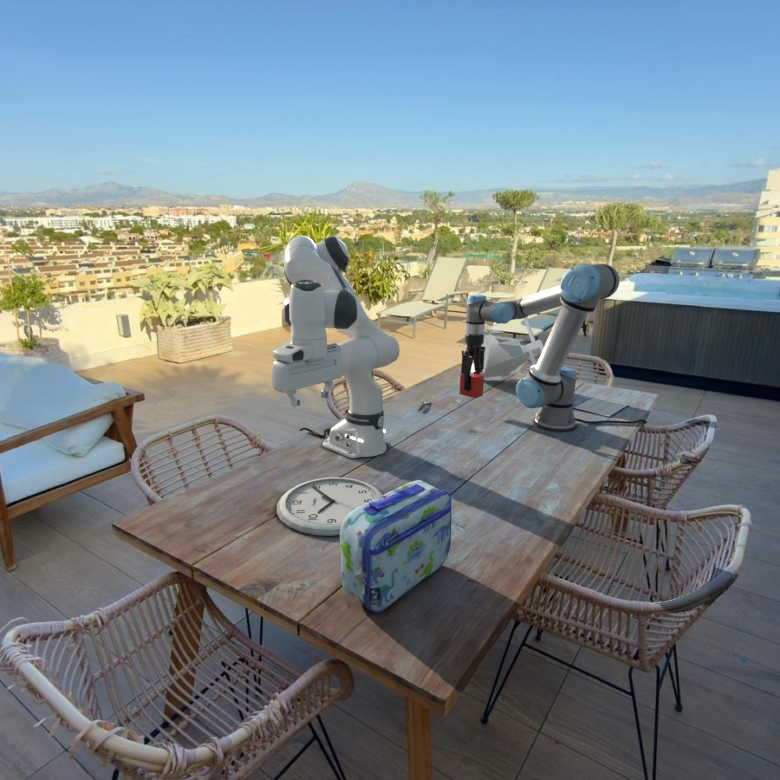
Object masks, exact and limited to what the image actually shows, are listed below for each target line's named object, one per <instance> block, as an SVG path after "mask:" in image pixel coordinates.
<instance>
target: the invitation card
mask: <svg viewBox="0 0 780 780" xmlns="http://www.w3.org/2000/svg"><path fill="white" fill-rule="evenodd" d="M628 406H629V404H627V403H623V402H618V401H614V400H609V399H605V398H601V397H596V396H593V397H592V398H590V399H588V400H586V401H584V402H582V403H580V404H578V405H575V406H574V407H573V409H575V410H581V411H584V412H587V413H593V414H596V415H600V416H604V417H608V418H609V417H611V416H613V415H614V414H616V413H617V412H619V411H621V410H623V409H624V408H626V407H628Z"/></svg>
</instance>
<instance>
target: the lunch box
mask: <svg viewBox="0 0 780 780" xmlns="http://www.w3.org/2000/svg"><path fill="white" fill-rule="evenodd" d="M383 494H384V495H382V496H380V497H378V498H376V499H374V500H372V501H370V502H368V503H366V504H364V505H362V506H360V507H358V508H356V509H354V510H353V511H351V512H350V513H349V514H348V515H347V516H346V518H345V519H344V521H343V523H342V526H341V530H340V535H339V551H340V574H341V576H340V577H341V585H342V588H343V589H342V590H343V591H344V593H346V594H348V595H350V596H352V597H353V598H355V599H357V600H358V601H359V602H361V603H362V604H364V605H365V606H366V608H367V609H369V610H370V611H371V612H374V613H381V612H384V611H385V610H386V609H387V608H389V607H390V606H391V605H392V604H393V603H395V602H396V601H397V600H399V599H400V598H401V597H402V596H404V595H405V594H407V593H408V592H410V591H411V590H412V589H413V588H415V587H416V586H417V585H418V584H419V583H420V582H421V581H423V580H425V579H426V578H427V577H429V576H430V575H432V574H434V573H435V572H436V571H438V570H439V569H440V568H441V567H442V566H443V565H444V563H445V562H446V560H447V558H448V556H449V553H450V550H451V549H450V548H451V545H452V543H451V542H452V497H451V494H450V492H449V491H448V490H446V489H438V488H437V487H435V486H434V485H431V484H429V483H427V482H426V481H424V480H421V479H416V480H413V481H410V482H408V483H405V484H403V485H401V486H399V487H397V488H394V489H393V490H390V491H388V492H387V493H383Z"/></svg>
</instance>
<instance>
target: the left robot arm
mask: <svg viewBox="0 0 780 780" xmlns="http://www.w3.org/2000/svg"><path fill="white" fill-rule="evenodd" d="M283 255H284V256H283V267H284V268H283V275H284V277H285V280H286V282H287V284H288V285H289V286H290V291H289V294H288V295H287V296H286V297H285V298H284V300H283V306H284V322H285V323H286V324H288V326H290V327H291V331H290V335H289V336H290V340H288V341H286V342H285V343H283V344H282V345H280V346H278V347H277V348H275V349H274V350H273V351H272V356H273V359H275V360H274V362H273V363H272V367H271V384H272V388H273V389H274V390H275V391H276V392H279V393H281V394H285V393H286V395H287V396H288V398H289V399H290V406H291V407H293V408H297V407H299V406H301V399H300V398H298V397H296V394H297V390H302V389H304V388H305V389H306V388H308V387H312V386H316V385H320V384H324V385H323V388H322V390H320V398H321V399H328V398H330V391H331V390H332V387H333V384H334V381H335V380H336V381H337V380H339V379H342V378H344V379H345V381H346V384H347V387H348V397H349V407H348V408H346V409H345V410H344V411H343V412H342V415H343V416H344V415H345V417H344V418H343V419H342V420H340V421H338V422H337V423H335V424H333V425H331V426H329V427H327V428H325V429H324V430H323V434H320V433H317V432H316V431H314V430H312V429H311V428H308V427H306V426H305V427H301V428H300V429H299V432H302V431H307V432H309V433H311V434H313V435H314V436H316V437H318V438H325V437H326V436H328V437H327V438H325V440H323V441H322V444H321V446H322V447H323V449H327V450H330V451H332V452H334V453H336V454H339V455H341V456H344V457H347V458H349V459H358V458H368V457H369V458H370V457H377V456H380V455H382V454H384V453H385V452H386V451H387V450H388V447H387V444H386V439H385V433H386V429H384V424H385V410H384V408H383V406H384V405H383V403H384V401H383V400H384V390H383V387H382V385H381V384H380V383H379V382H377V381H376V380H374V379H373V375H372V370H376V369H380V368H384V367H387V366H389V365H391V364H393V363H394V362H396V361H398V359H399V356H400V352H401V350H400V344H399V342H398V340H397V338H395V337H394V335H391V334H389V333H387V332H385V331H384V330H382V329H381V328H380V327H378V325H376V323H375V322H373V321H372V319H371V318H370V317H369V315H368V314H367V312H366V311H365V309H364V307H363V305H362V303H361V302H360V300H359V297H358V295H357V294H356V291H355V290H354V288H353V287H352V285H351V283H350V282H349V280H348V279H347V277H346V276H345V275H344V274H346V273H347V272H348V266H349V263H350V255H349V250H348V247H347V246H346V244H345V243H344V242H343V241H342V240H341V239H340V238H339V237H338V236H335V235H331V236H328V237H325V238H324V239H323V240H320V241H319V242H317V243H316V242H315V241H314V240H313V239H312V238H310V237H308V236H306V235H298V236H295V237H293V238H291V240H290V241H289V242H288V243H287V245H286V247H285V251H284V254H283ZM342 272H343V273H344V274H343V273H342ZM326 329H335V330H336V331H337V332H339V333H340V334H342V335H345V336H347V337H348V338H349V339H346V340H343V341H341V342H339V343H337V342H334V343H331V344H328V334H327V331H326Z"/></svg>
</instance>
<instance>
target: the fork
mask: <svg viewBox="0 0 780 780" xmlns="http://www.w3.org/2000/svg"><path fill="white" fill-rule="evenodd" d="M431 401H432V396H425V399H424V402H423V404H422V405H420V407H419V409H418V411H420V410H422V409H423V408H425V406H426V404H427V405H428V404H430V403H431Z"/></svg>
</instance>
